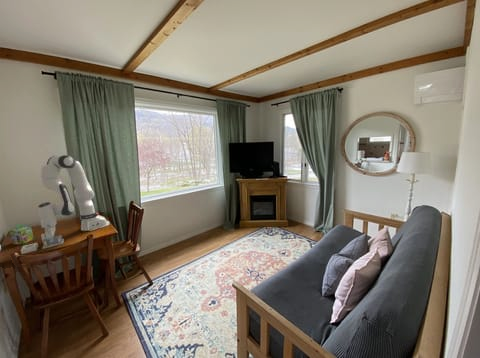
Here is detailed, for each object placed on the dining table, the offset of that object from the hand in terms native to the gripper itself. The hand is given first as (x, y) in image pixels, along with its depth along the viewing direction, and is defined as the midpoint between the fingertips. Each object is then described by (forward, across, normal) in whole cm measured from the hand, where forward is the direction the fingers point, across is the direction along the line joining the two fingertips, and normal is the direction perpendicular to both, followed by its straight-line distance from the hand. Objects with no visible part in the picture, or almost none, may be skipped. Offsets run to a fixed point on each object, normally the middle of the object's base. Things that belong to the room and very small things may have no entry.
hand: (52, 239), depth 163 cm
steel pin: (+4, +7, +6) cm, 10 cm away
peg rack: (+4, 0, 0) cm, 4 cm away
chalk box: (+4, +23, +20) cm, 31 cm away
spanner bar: (+3, 0, 0) cm, 3 cm away
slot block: (+4, 0, +14) cm, 14 cm away
